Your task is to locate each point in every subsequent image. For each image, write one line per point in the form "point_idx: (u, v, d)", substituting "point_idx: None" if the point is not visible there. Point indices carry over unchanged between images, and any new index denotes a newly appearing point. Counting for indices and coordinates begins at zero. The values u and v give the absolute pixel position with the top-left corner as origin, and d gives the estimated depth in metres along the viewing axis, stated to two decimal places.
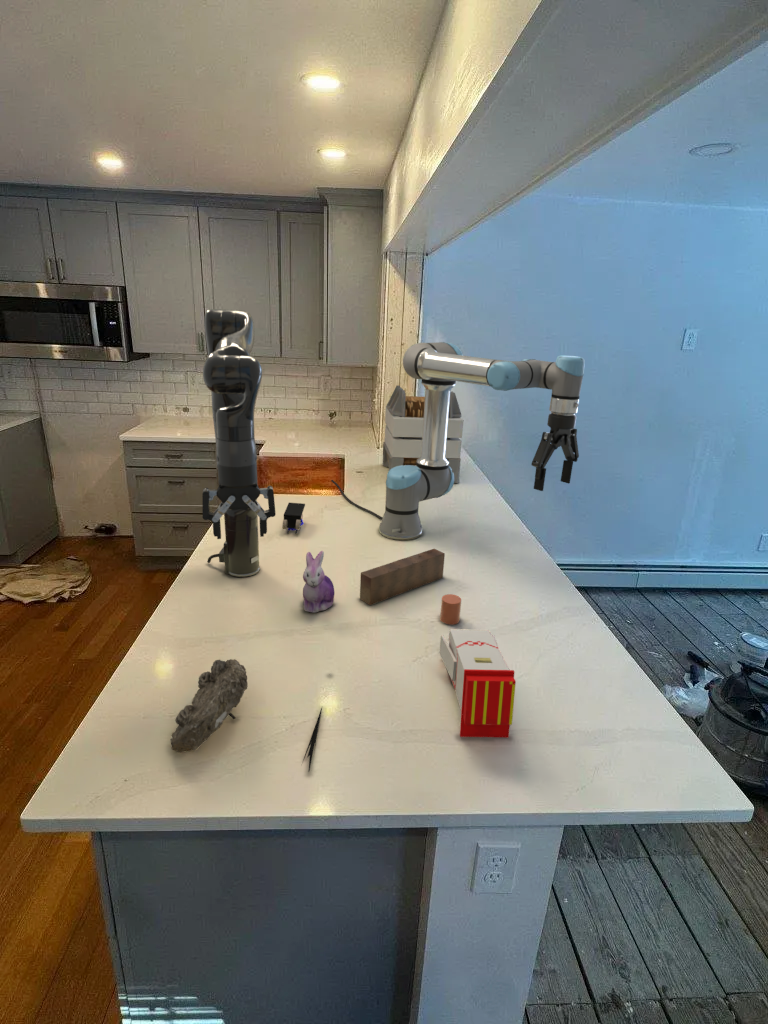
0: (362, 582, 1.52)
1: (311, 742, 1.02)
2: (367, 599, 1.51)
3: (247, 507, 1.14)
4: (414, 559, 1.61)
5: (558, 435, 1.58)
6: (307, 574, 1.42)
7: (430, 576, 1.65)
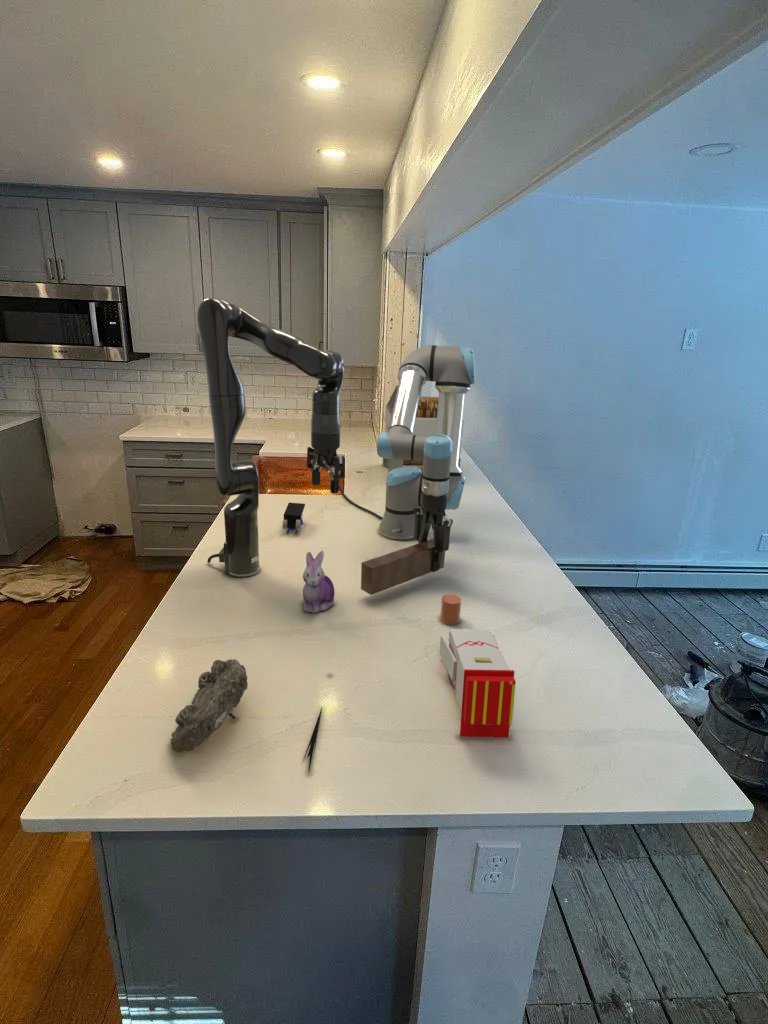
0: (363, 572, 1.51)
1: (311, 742, 1.02)
2: (368, 589, 1.51)
3: None
4: (415, 548, 1.60)
5: (424, 509, 1.62)
6: (307, 574, 1.42)
7: None
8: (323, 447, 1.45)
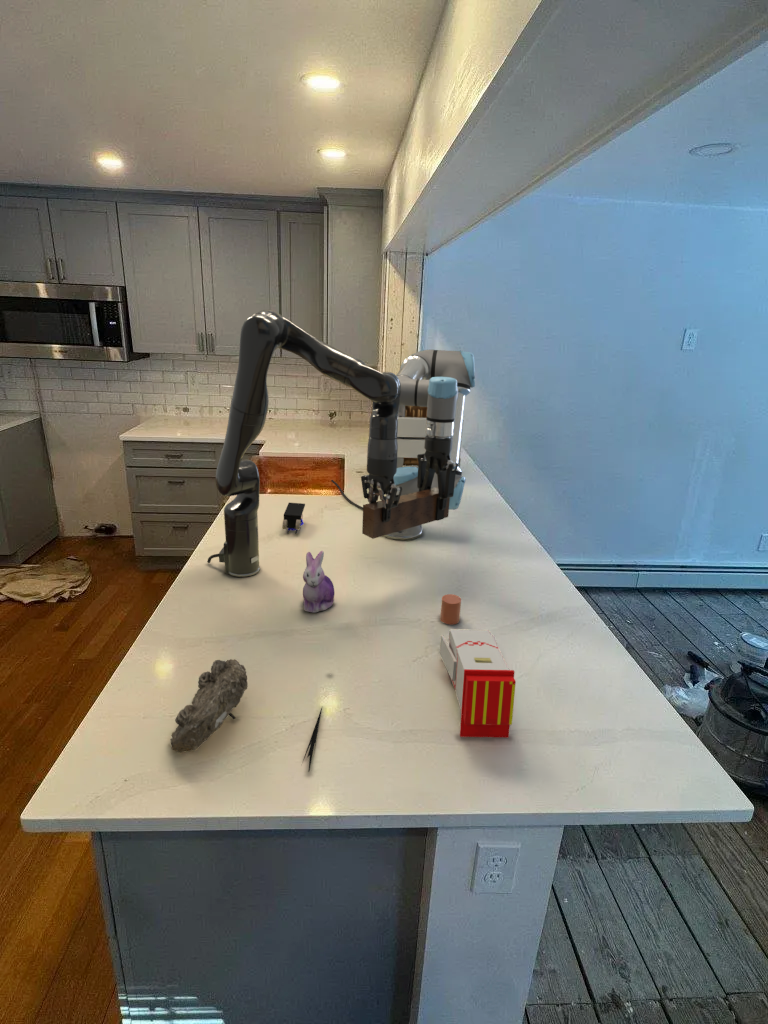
0: (364, 515, 1.45)
1: (311, 742, 1.02)
2: (370, 532, 1.45)
3: None
4: (418, 494, 1.54)
5: (428, 454, 1.56)
6: (307, 574, 1.42)
7: None
8: (381, 473, 1.39)
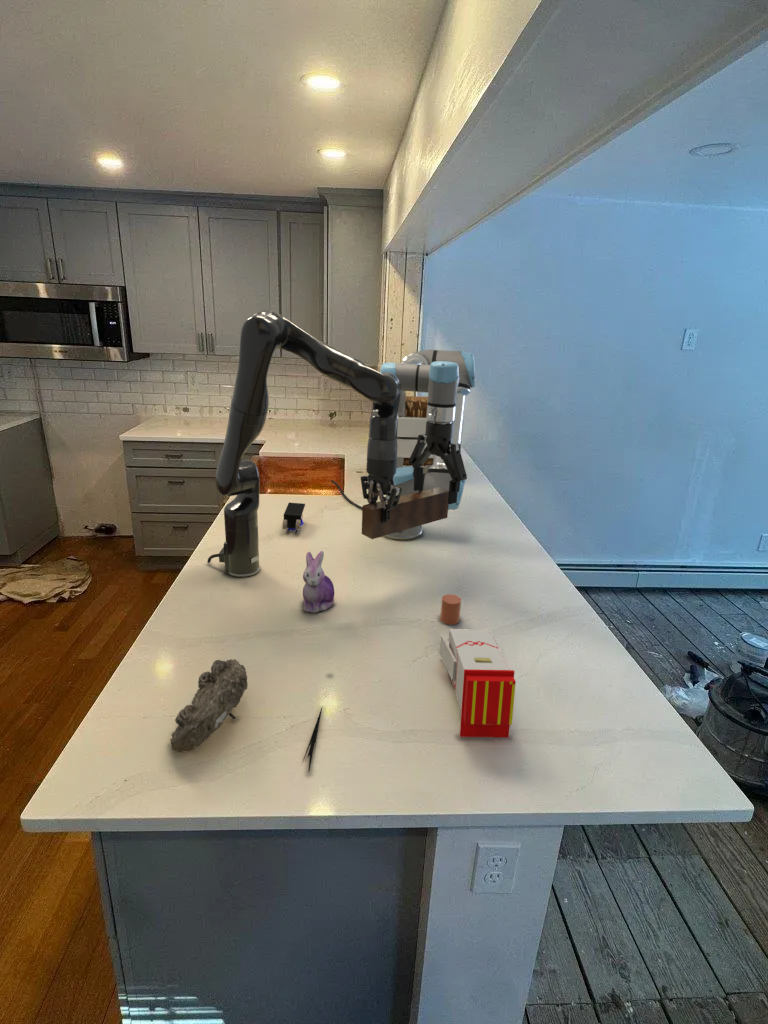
0: (364, 515, 1.45)
1: (311, 742, 1.02)
2: (369, 533, 1.45)
3: None
4: (418, 495, 1.54)
5: (429, 441, 1.55)
6: (307, 574, 1.42)
7: (435, 514, 1.58)
8: (380, 473, 1.39)
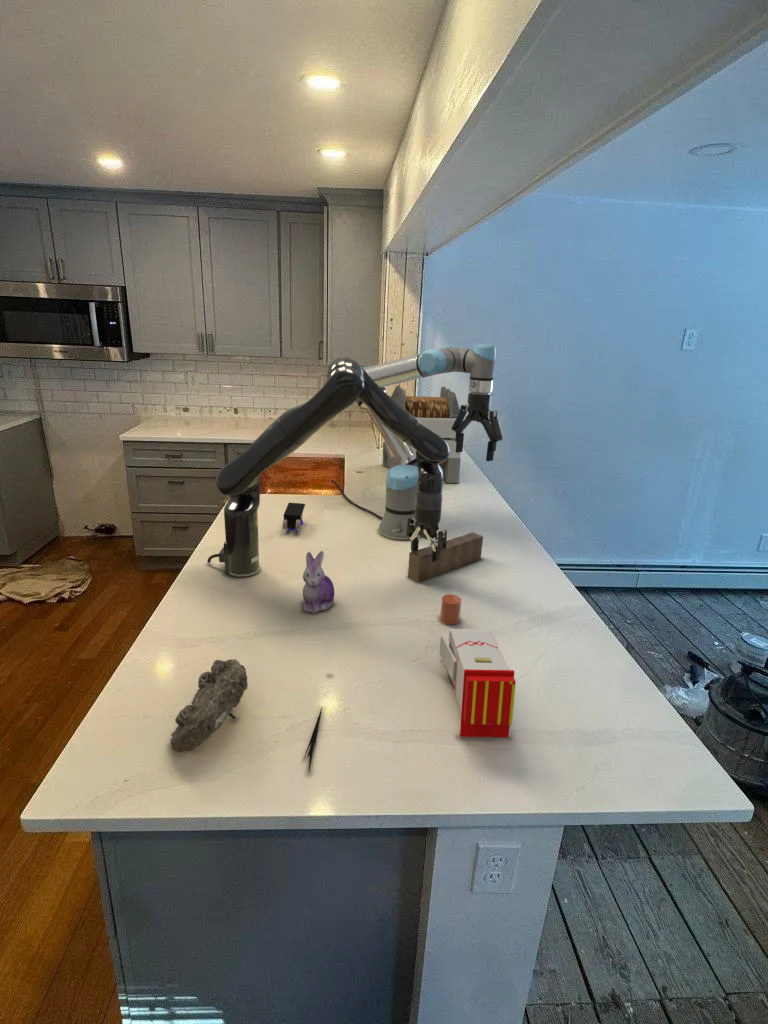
0: (410, 561, 1.66)
1: (311, 742, 1.02)
2: (415, 577, 1.65)
3: None
4: (456, 541, 1.75)
5: (470, 409, 1.88)
6: (307, 574, 1.42)
7: (470, 557, 1.78)
8: (428, 522, 1.59)
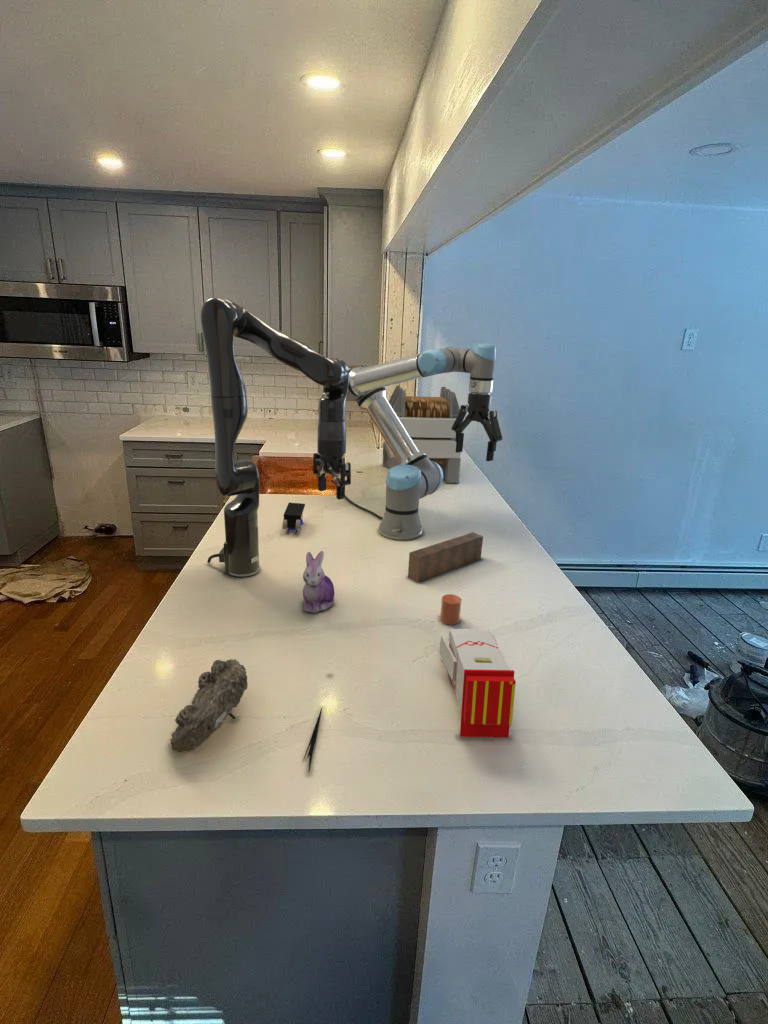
0: (410, 561, 1.66)
1: (311, 742, 1.02)
2: (415, 577, 1.65)
3: None
4: (456, 541, 1.75)
5: (470, 409, 1.88)
6: (307, 574, 1.42)
7: (470, 557, 1.78)
8: (330, 453, 1.47)
